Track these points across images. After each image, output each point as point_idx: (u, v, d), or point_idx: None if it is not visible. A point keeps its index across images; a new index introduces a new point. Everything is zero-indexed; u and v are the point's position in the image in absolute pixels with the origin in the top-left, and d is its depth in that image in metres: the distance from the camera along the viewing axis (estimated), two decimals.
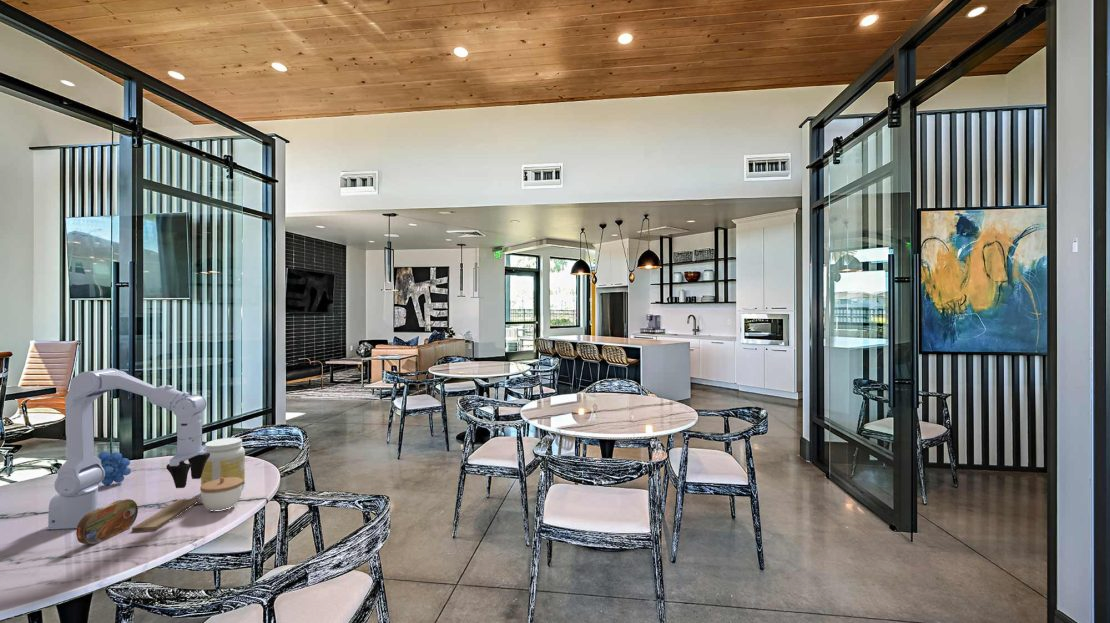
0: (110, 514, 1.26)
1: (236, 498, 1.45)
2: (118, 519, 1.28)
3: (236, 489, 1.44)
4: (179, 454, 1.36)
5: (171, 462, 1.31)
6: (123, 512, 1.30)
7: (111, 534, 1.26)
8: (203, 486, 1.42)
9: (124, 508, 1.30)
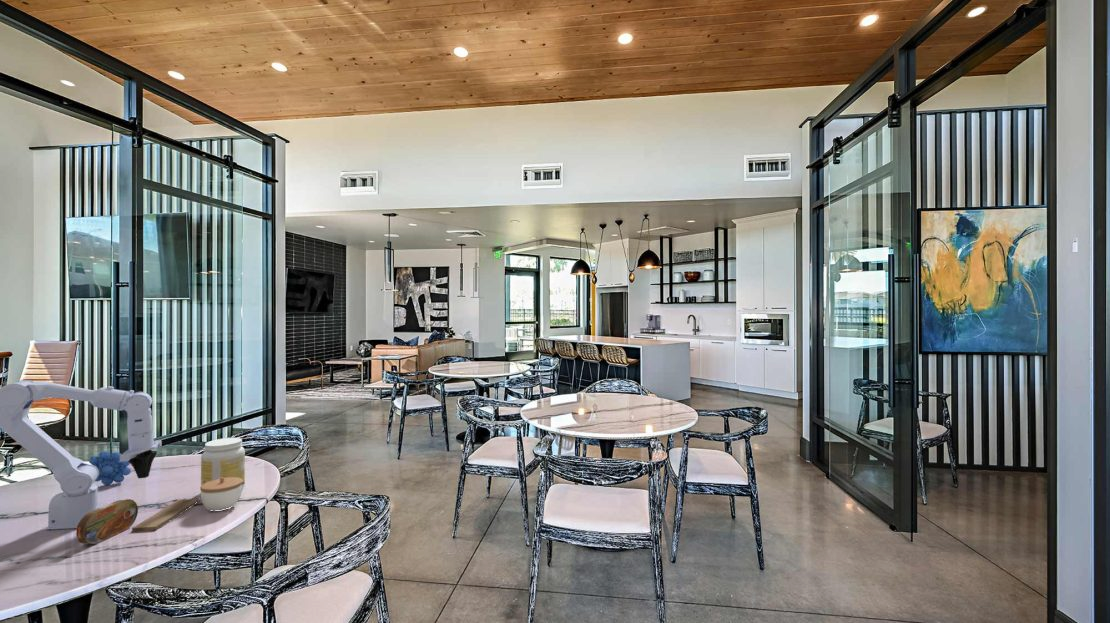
0: (110, 514, 1.26)
1: (236, 498, 1.45)
2: (118, 519, 1.28)
3: (236, 489, 1.44)
4: (130, 450, 1.39)
5: (121, 458, 1.34)
6: (123, 512, 1.30)
7: (111, 534, 1.26)
8: (203, 486, 1.42)
9: (124, 508, 1.30)
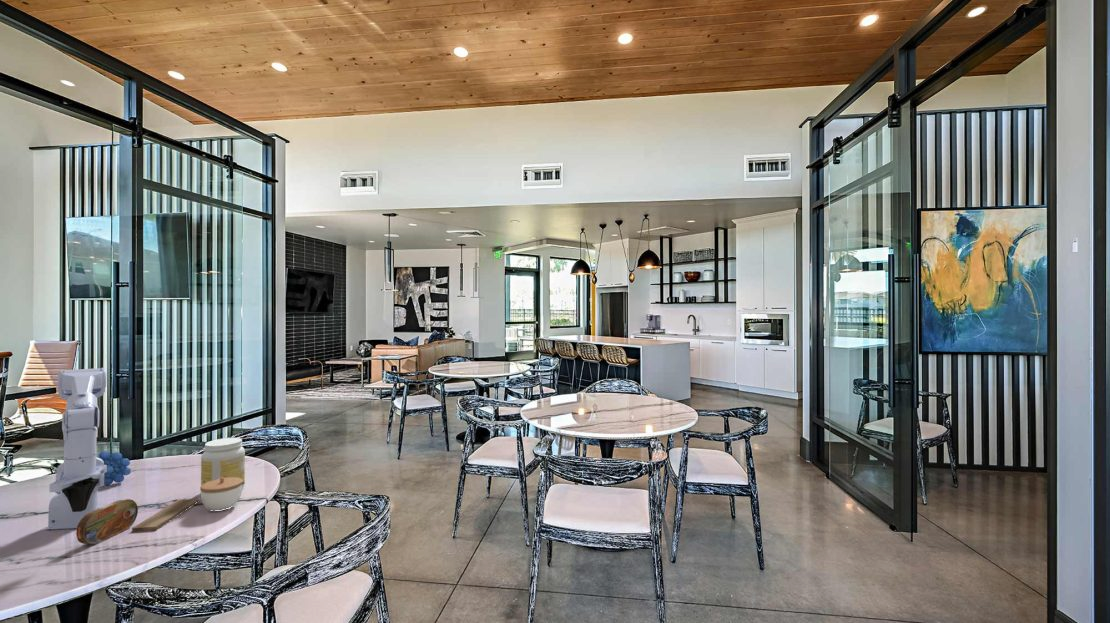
0: (110, 514, 1.26)
1: (236, 498, 1.45)
2: (118, 519, 1.28)
3: (236, 489, 1.44)
4: (65, 477, 1.15)
5: (51, 487, 1.10)
6: (123, 512, 1.30)
7: (111, 534, 1.26)
8: (203, 486, 1.42)
9: (124, 508, 1.30)
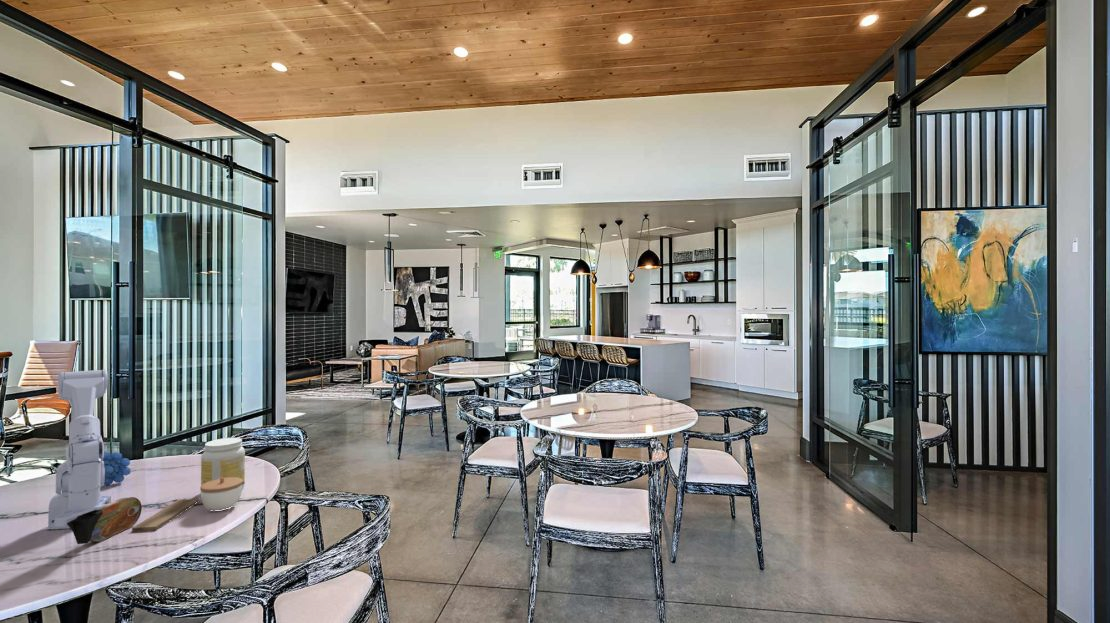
0: (114, 512, 1.27)
1: (236, 498, 1.45)
2: (122, 517, 1.29)
3: (236, 489, 1.44)
4: (70, 510, 1.16)
5: (56, 522, 1.11)
6: (127, 510, 1.31)
7: (115, 532, 1.27)
8: (203, 486, 1.42)
9: (128, 506, 1.31)
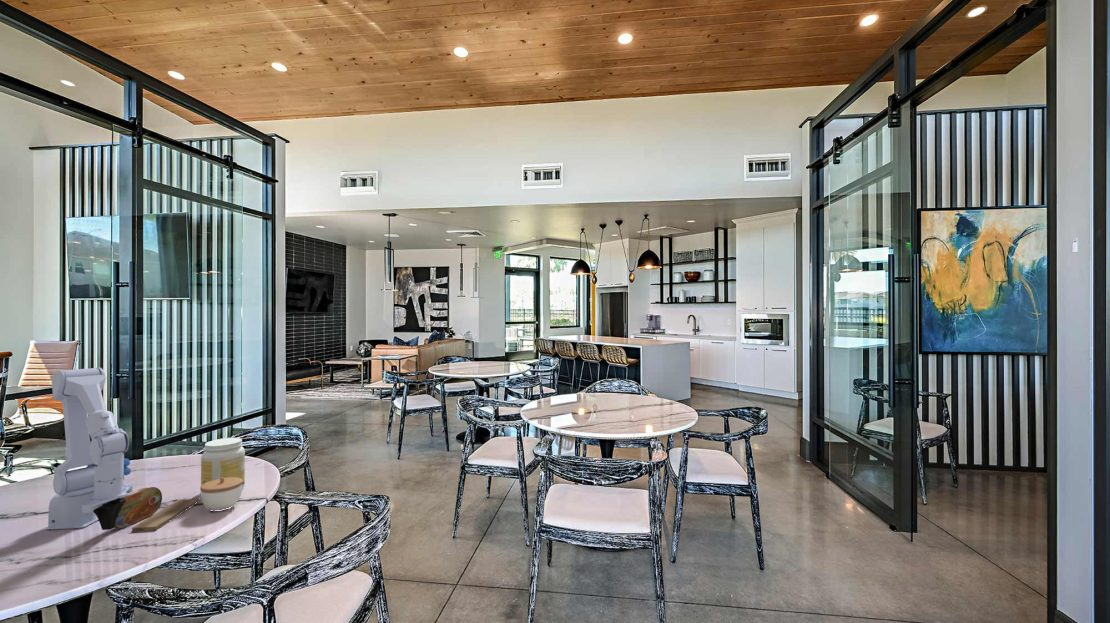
0: (136, 500, 1.35)
1: (236, 498, 1.45)
2: (144, 505, 1.37)
3: (236, 489, 1.44)
4: (96, 498, 1.24)
5: (84, 509, 1.19)
6: (149, 499, 1.39)
7: (137, 519, 1.35)
8: (203, 486, 1.42)
9: (149, 495, 1.39)
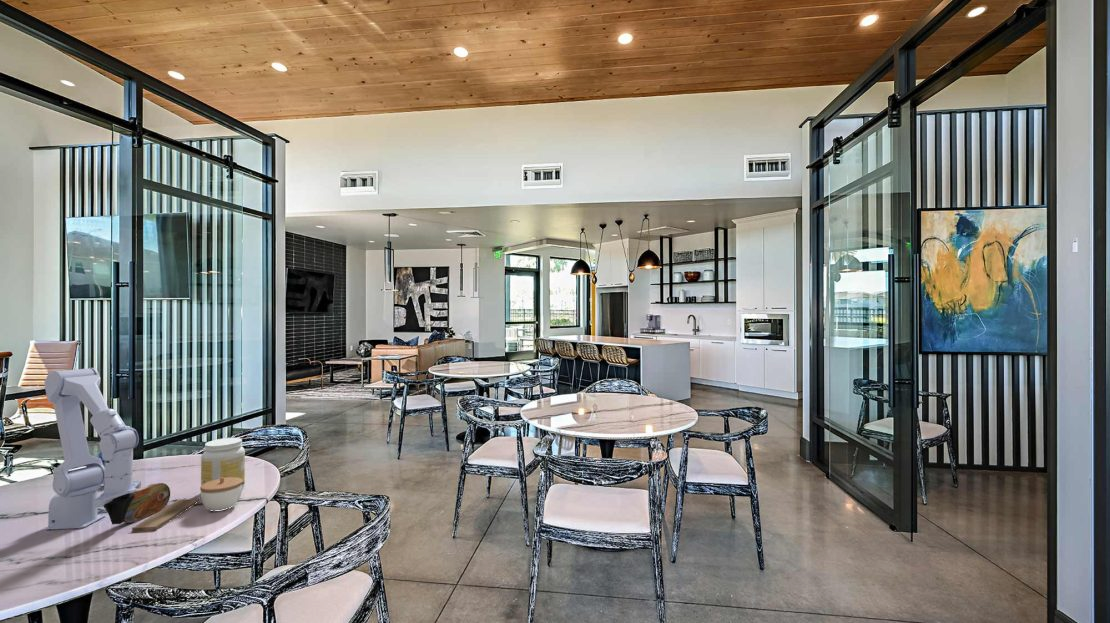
0: (145, 496, 1.39)
1: (236, 498, 1.45)
2: (153, 501, 1.41)
3: (236, 489, 1.44)
4: (106, 493, 1.27)
5: (95, 503, 1.22)
6: (157, 494, 1.42)
7: (146, 514, 1.38)
8: (203, 486, 1.42)
9: (158, 491, 1.42)
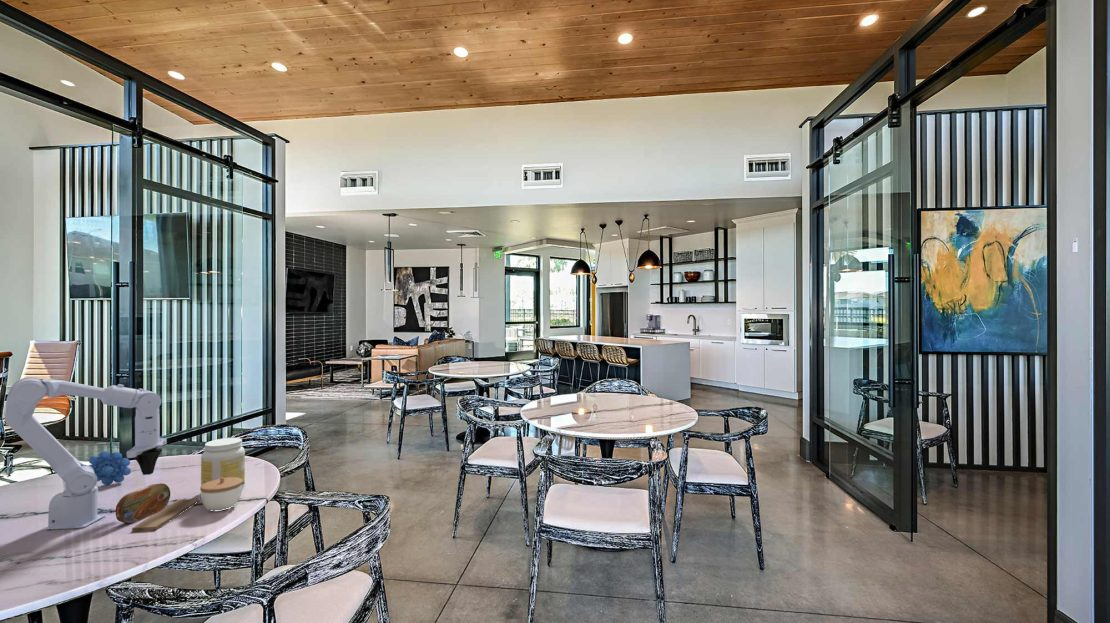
0: (145, 496, 1.39)
1: (236, 498, 1.45)
2: (153, 501, 1.41)
3: (236, 489, 1.44)
4: (137, 446, 1.42)
5: (128, 454, 1.38)
6: (157, 495, 1.42)
7: (146, 515, 1.38)
8: (203, 486, 1.42)
9: (158, 491, 1.42)
